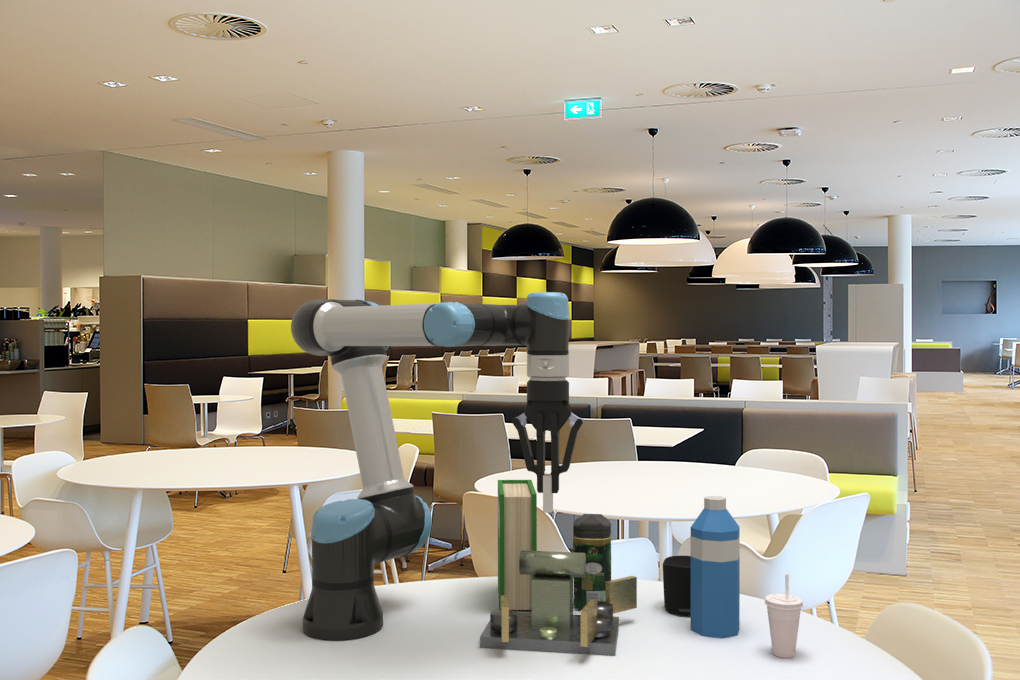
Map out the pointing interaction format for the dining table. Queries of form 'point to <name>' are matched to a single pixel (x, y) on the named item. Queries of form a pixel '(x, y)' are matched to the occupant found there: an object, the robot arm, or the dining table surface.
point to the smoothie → (784, 621)
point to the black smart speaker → (677, 585)
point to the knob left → (503, 619)
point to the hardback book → (515, 540)
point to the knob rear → (619, 596)
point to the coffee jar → (592, 557)
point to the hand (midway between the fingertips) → (548, 511)
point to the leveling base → (550, 645)
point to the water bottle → (715, 571)
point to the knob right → (593, 624)
